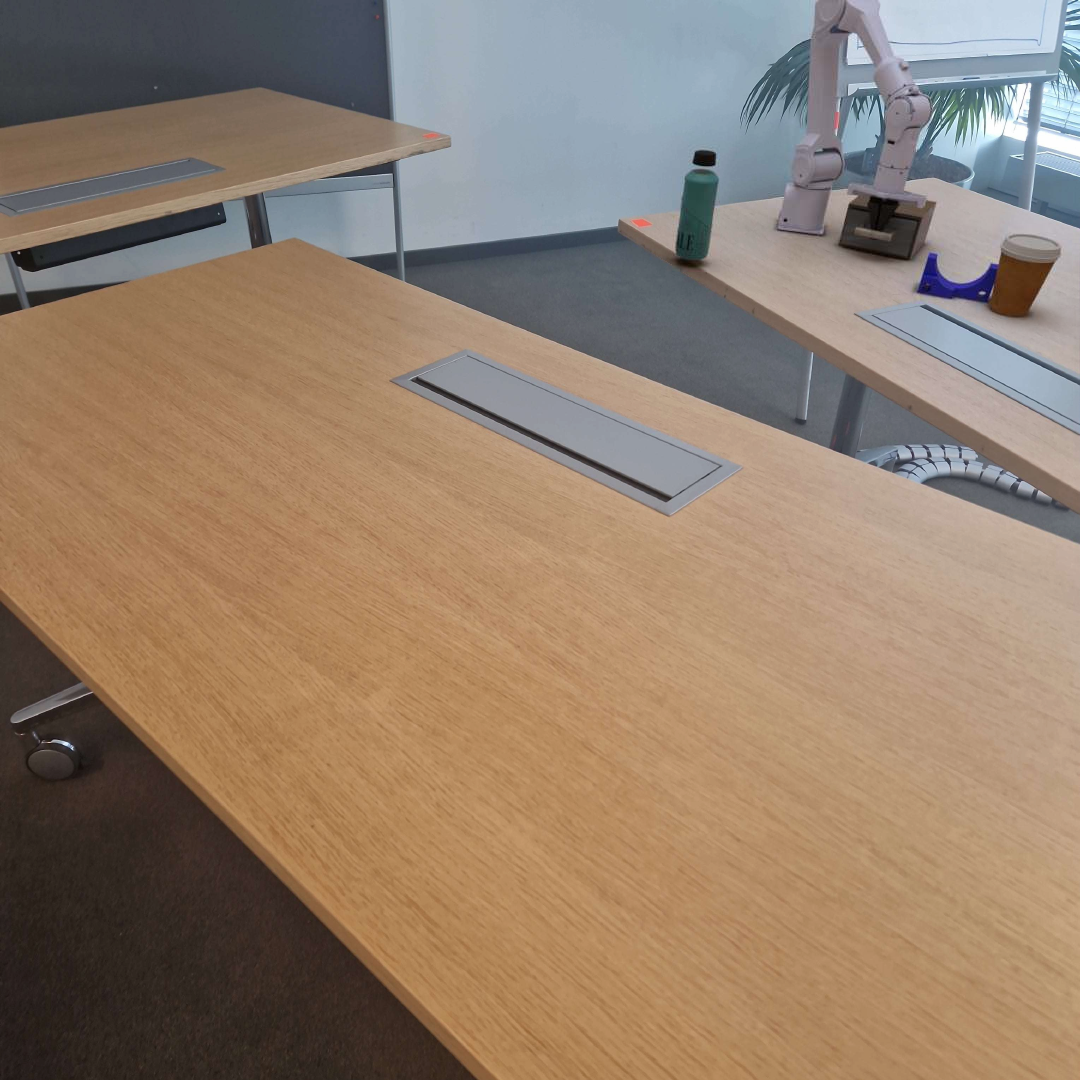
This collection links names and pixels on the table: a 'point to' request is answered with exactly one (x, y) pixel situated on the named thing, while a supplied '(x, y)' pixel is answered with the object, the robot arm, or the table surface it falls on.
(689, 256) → the beverage bottle
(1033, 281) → the disposable coffee cup
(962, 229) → the table surface
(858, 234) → the drawer
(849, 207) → the cabinet
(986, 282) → the blue cradle bracket
